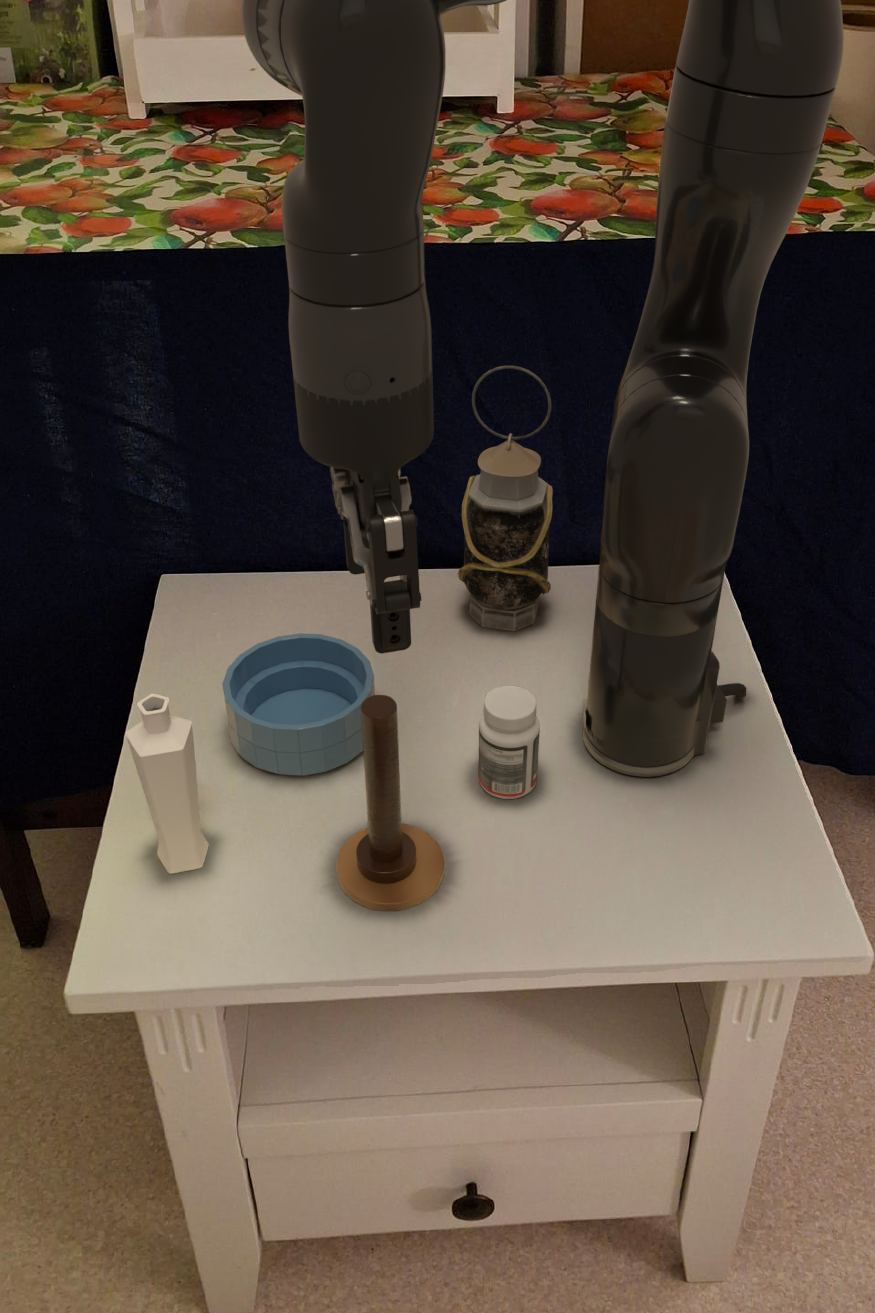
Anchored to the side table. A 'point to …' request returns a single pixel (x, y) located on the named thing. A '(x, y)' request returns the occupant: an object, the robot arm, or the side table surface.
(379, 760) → the brown wooden peg
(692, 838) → the side table surface
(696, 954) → the side table surface
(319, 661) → the bowl
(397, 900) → the coaster
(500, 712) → the pill bottle
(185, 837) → the perfume bottle
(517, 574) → the lantern
